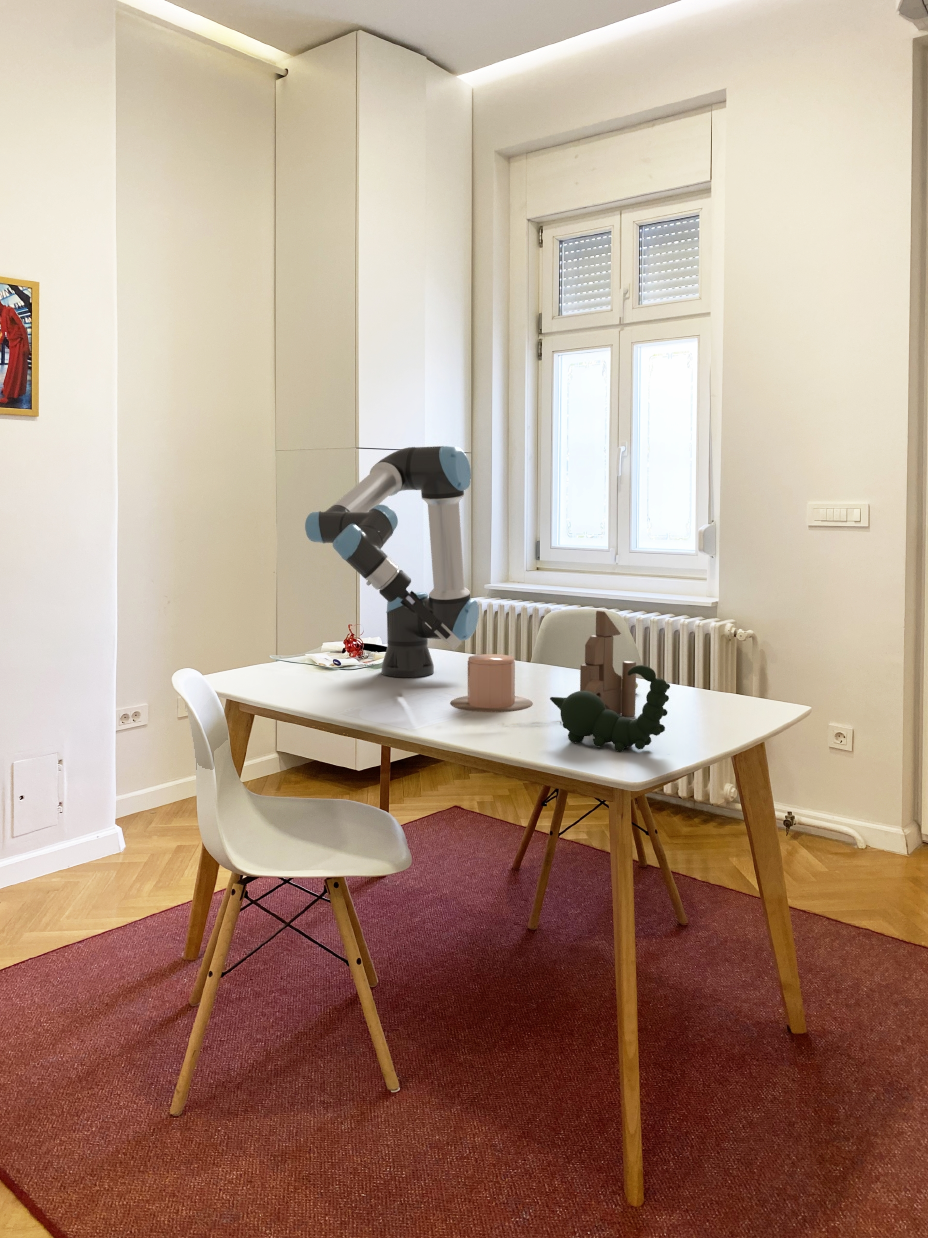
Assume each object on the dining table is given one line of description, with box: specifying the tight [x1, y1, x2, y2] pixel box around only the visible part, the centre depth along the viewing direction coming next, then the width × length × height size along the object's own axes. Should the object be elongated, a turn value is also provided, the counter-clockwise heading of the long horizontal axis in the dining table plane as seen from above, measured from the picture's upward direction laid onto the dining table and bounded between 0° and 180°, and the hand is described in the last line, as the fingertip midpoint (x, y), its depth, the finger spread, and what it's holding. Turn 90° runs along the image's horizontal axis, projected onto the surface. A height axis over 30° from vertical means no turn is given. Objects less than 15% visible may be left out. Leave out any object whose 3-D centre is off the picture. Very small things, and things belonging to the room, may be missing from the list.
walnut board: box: [449, 695, 534, 713], centre depth 232 cm, size 20×20×2 cm
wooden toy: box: [579, 610, 637, 718], centre depth 221 cm, size 15×7×25 cm, turn 130°
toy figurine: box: [549, 664, 671, 753], centre depth 197 cm, size 9×19×25 cm
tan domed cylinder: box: [467, 653, 516, 708], centre depth 231 cm, size 11×11×11 cm
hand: (452, 641), depth 228 cm, fingers open, 13 cm apart
